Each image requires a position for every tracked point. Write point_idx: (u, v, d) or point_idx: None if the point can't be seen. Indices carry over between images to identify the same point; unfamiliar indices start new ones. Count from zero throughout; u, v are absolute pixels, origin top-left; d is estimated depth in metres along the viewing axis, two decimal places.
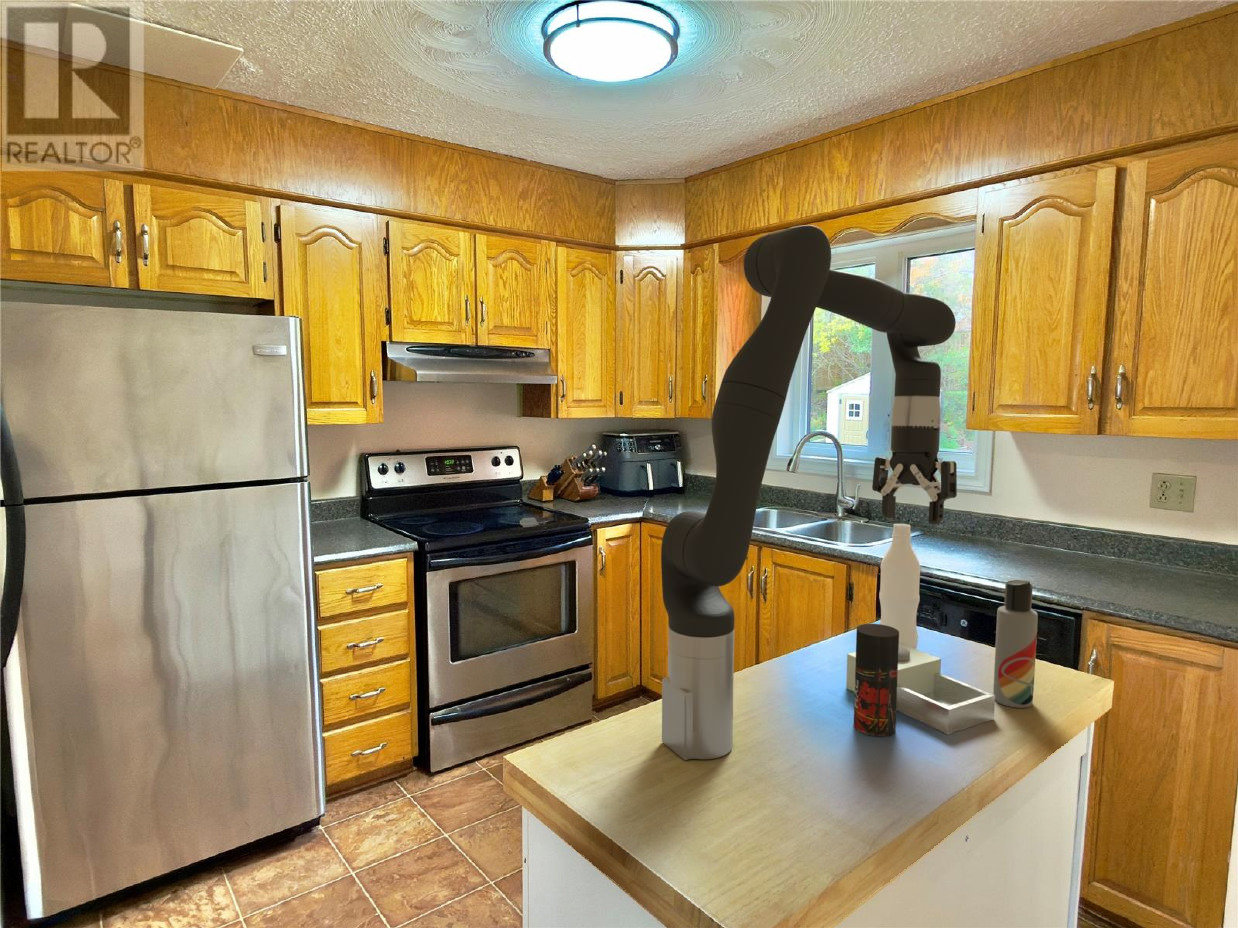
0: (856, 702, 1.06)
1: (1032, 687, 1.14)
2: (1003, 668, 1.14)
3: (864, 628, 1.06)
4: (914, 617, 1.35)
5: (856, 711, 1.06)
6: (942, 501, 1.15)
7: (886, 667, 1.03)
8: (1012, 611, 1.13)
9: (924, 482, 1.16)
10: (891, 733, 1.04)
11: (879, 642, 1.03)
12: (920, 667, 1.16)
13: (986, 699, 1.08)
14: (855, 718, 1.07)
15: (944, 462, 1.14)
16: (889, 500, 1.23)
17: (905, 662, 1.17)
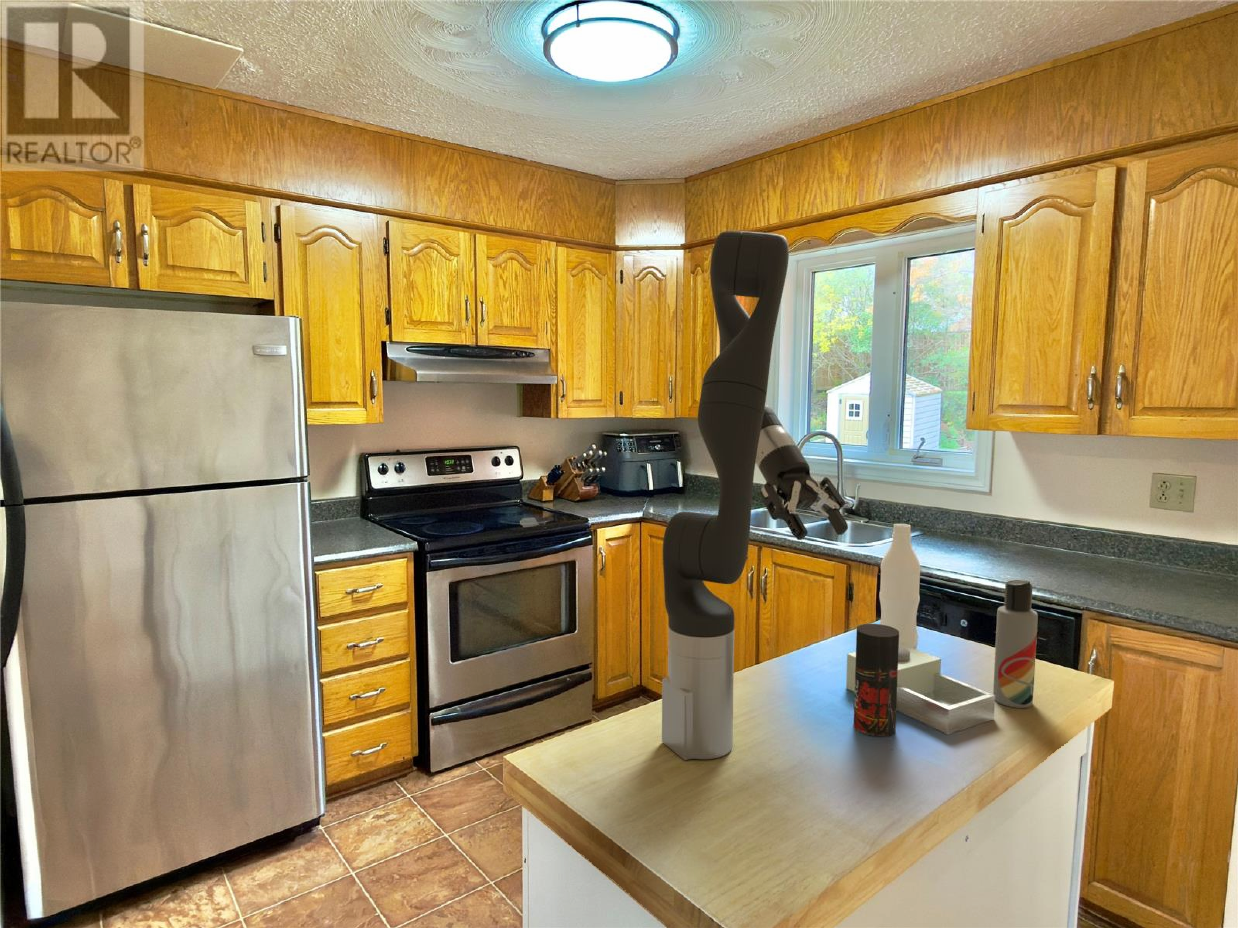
0: (856, 702, 1.06)
1: (1032, 687, 1.14)
2: (1003, 668, 1.14)
3: (864, 628, 1.06)
4: (914, 617, 1.35)
5: (856, 711, 1.06)
6: None
7: (886, 667, 1.03)
8: (1012, 611, 1.13)
9: (824, 493, 1.18)
10: (891, 733, 1.04)
11: (879, 642, 1.03)
12: (920, 667, 1.16)
13: (986, 699, 1.08)
14: (855, 718, 1.07)
15: (826, 478, 1.22)
16: None
17: (905, 662, 1.17)
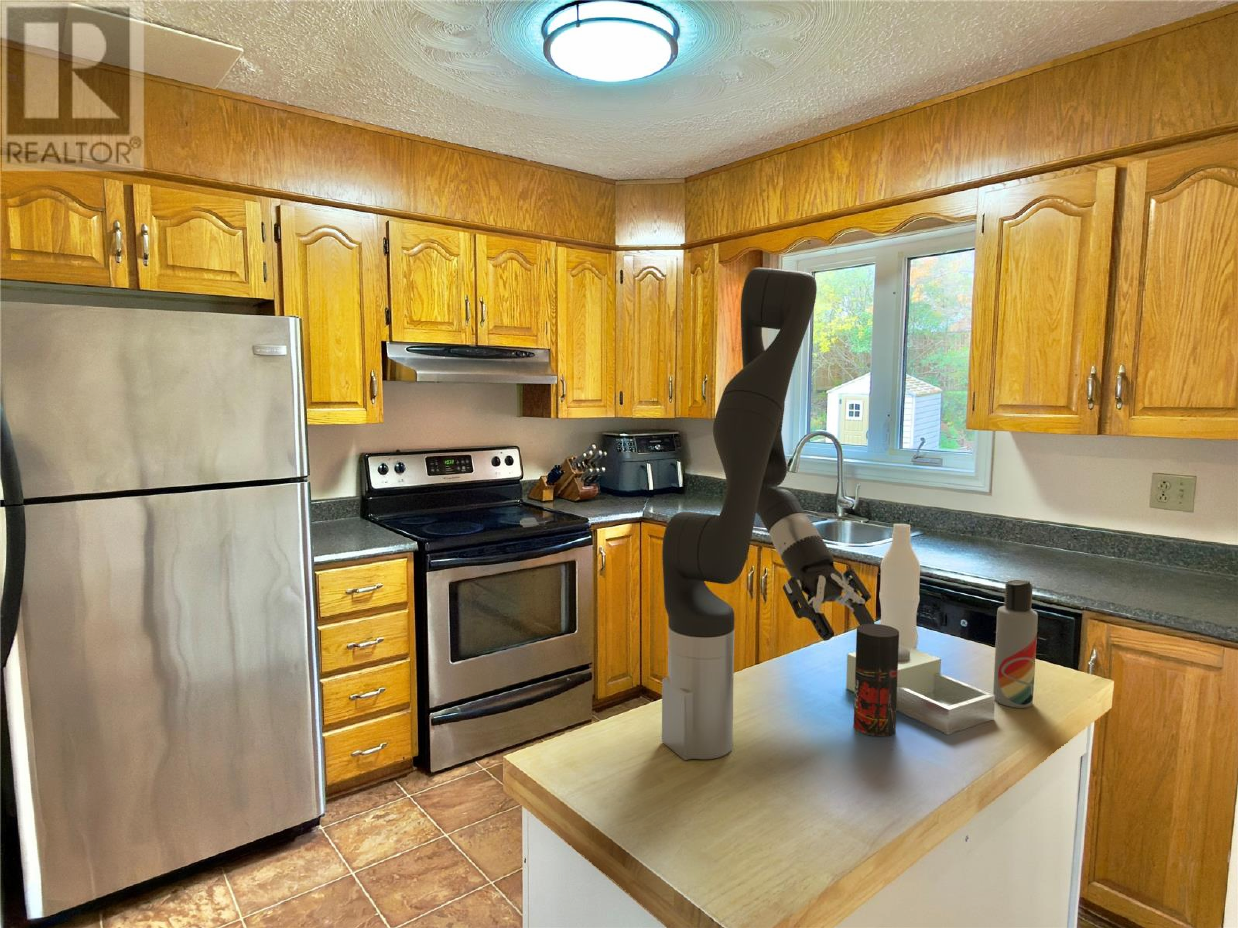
0: (856, 702, 1.06)
1: (1032, 687, 1.14)
2: (1003, 668, 1.14)
3: (864, 628, 1.06)
4: (914, 617, 1.35)
5: (856, 711, 1.06)
6: None
7: (886, 667, 1.03)
8: (1012, 611, 1.13)
9: (849, 587, 1.14)
10: (891, 733, 1.04)
11: (879, 642, 1.03)
12: (920, 667, 1.16)
13: (986, 699, 1.08)
14: (855, 718, 1.07)
15: (850, 568, 1.18)
16: None
17: (905, 662, 1.17)
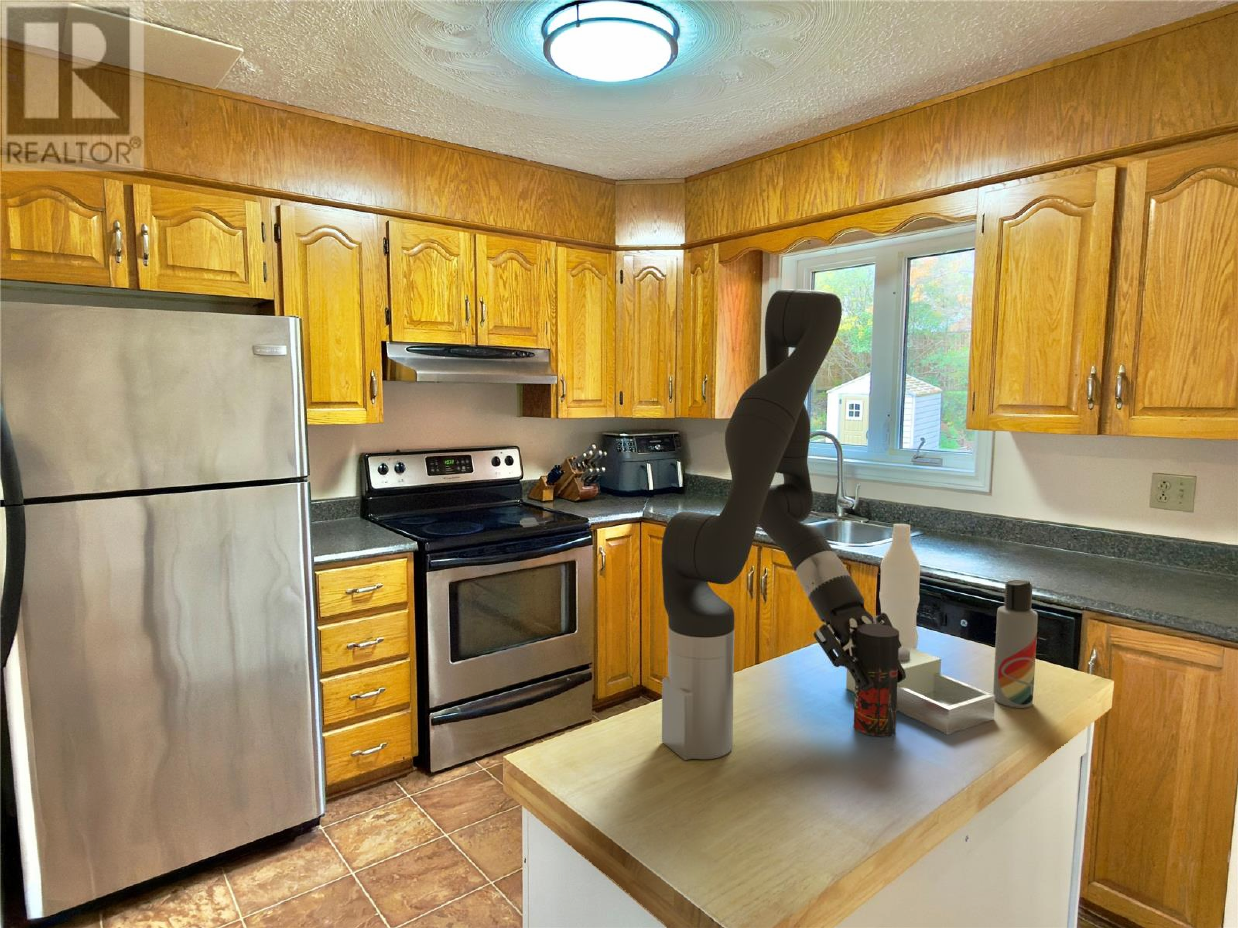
0: (856, 702, 1.06)
1: (1032, 687, 1.14)
2: (1003, 668, 1.14)
3: (864, 628, 1.06)
4: (914, 617, 1.35)
5: (856, 711, 1.06)
6: None
7: (886, 667, 1.03)
8: (1012, 611, 1.13)
9: None
10: (891, 733, 1.04)
11: (879, 642, 1.03)
12: (920, 667, 1.16)
13: (986, 699, 1.08)
14: (855, 718, 1.07)
15: (884, 613, 1.12)
16: None
17: (905, 662, 1.17)
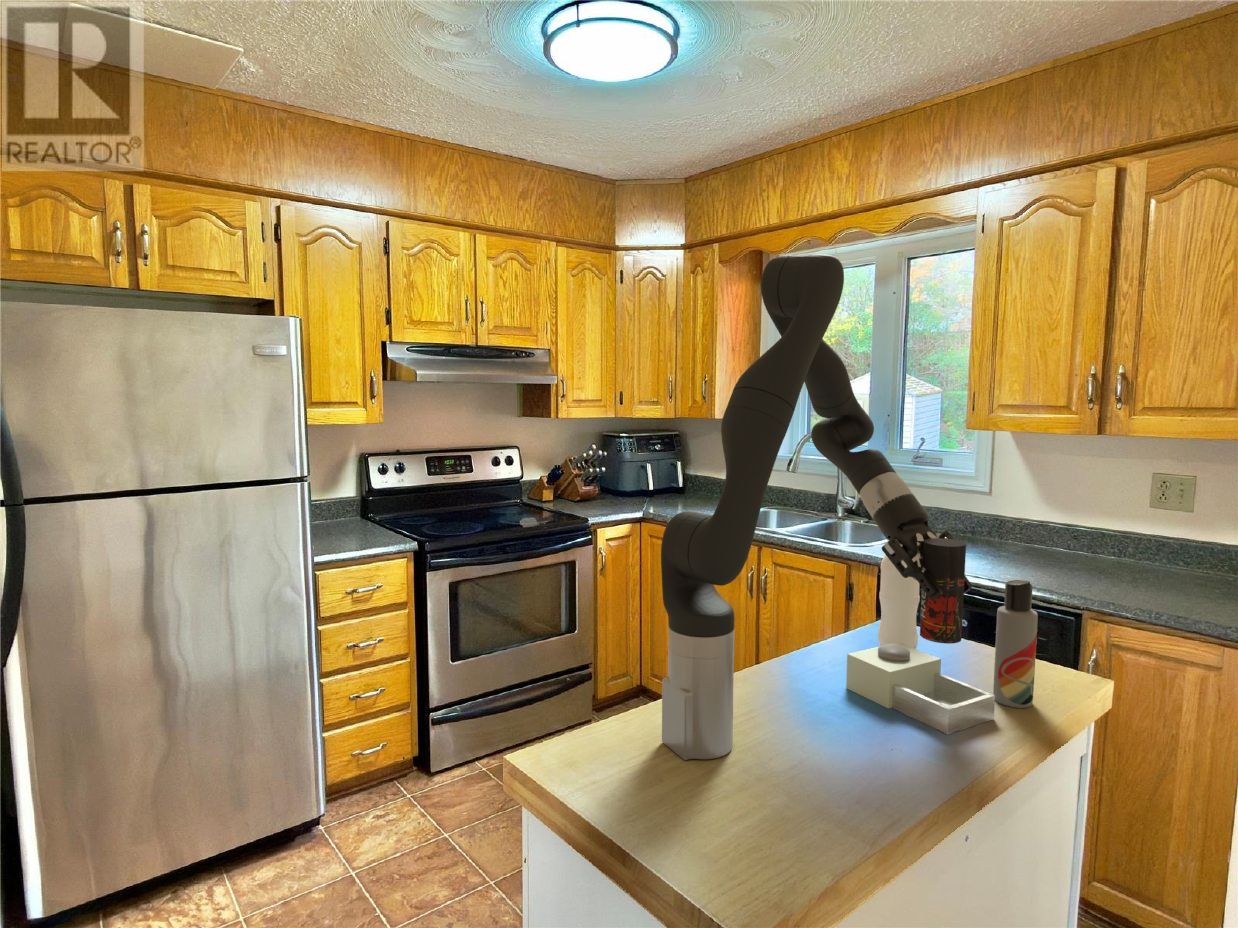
0: (923, 612, 1.10)
1: (1032, 687, 1.14)
2: (1003, 668, 1.14)
3: (931, 541, 1.10)
4: (914, 617, 1.35)
5: (923, 621, 1.10)
6: None
7: (954, 576, 1.07)
8: (1012, 611, 1.13)
9: None
10: (958, 640, 1.09)
11: (948, 551, 1.07)
12: (920, 667, 1.16)
13: (986, 699, 1.08)
14: (922, 628, 1.11)
15: (946, 531, 1.17)
16: None
17: (905, 662, 1.17)
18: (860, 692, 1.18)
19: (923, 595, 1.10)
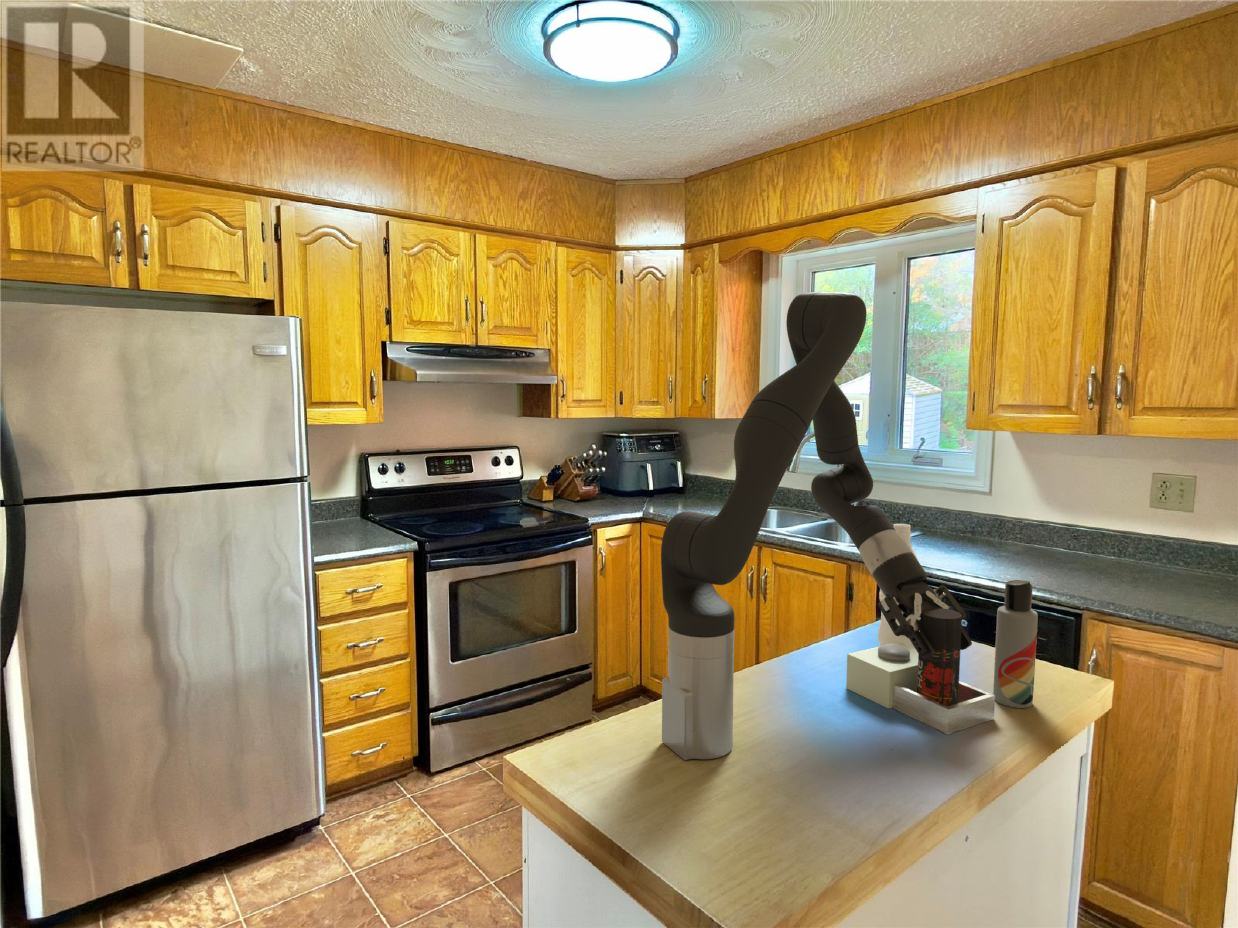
0: (920, 682, 1.11)
1: (1032, 687, 1.14)
2: (1003, 668, 1.14)
3: (928, 611, 1.12)
4: None
5: (920, 690, 1.11)
6: None
7: (950, 648, 1.08)
8: (1012, 611, 1.13)
9: (944, 605, 1.14)
10: None
11: (944, 623, 1.08)
12: None
13: (986, 699, 1.08)
14: None
15: (943, 586, 1.18)
16: None
17: (905, 662, 1.17)
18: (860, 692, 1.18)
19: (920, 665, 1.11)
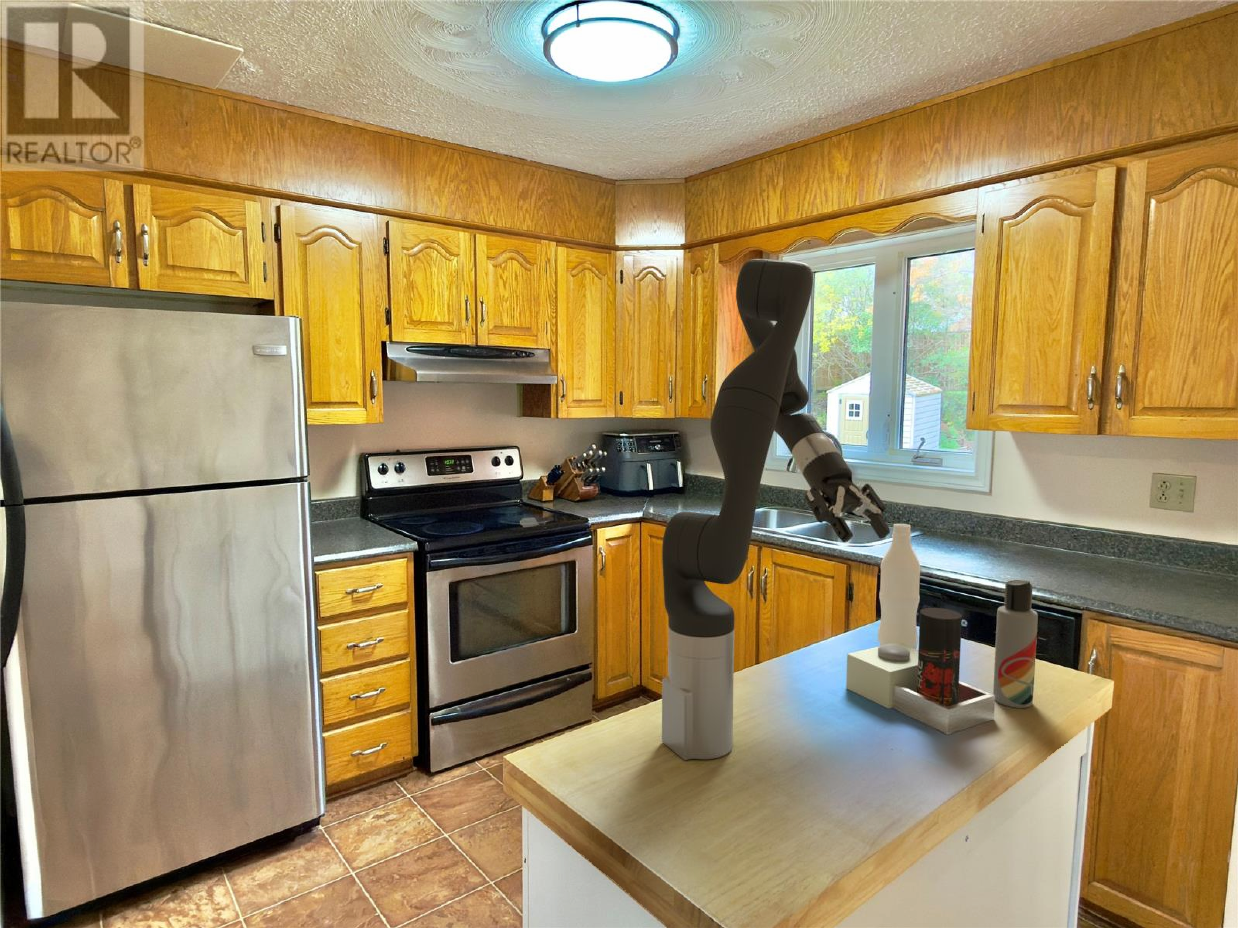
0: (920, 682, 1.11)
1: (1032, 687, 1.14)
2: (1003, 668, 1.14)
3: (928, 612, 1.11)
4: (914, 617, 1.35)
5: (920, 691, 1.11)
6: None
7: (950, 648, 1.08)
8: (1012, 611, 1.13)
9: (866, 498, 1.24)
10: None
11: (944, 624, 1.08)
12: None
13: (986, 699, 1.08)
14: None
15: (867, 484, 1.27)
16: None
17: (905, 662, 1.17)
18: (860, 692, 1.18)
19: (920, 665, 1.11)
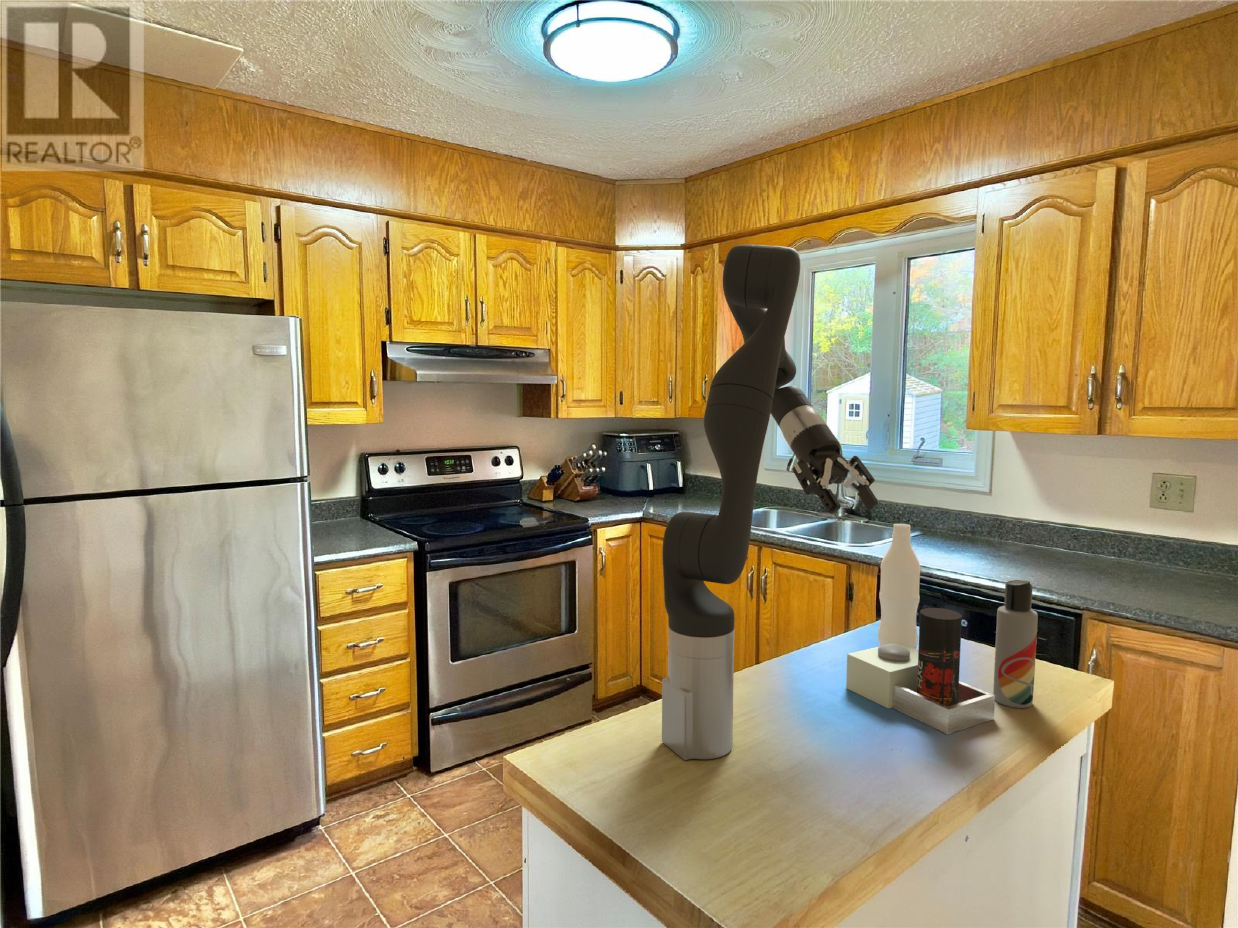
0: (920, 682, 1.11)
1: (1032, 687, 1.14)
2: (1003, 668, 1.14)
3: (927, 612, 1.11)
4: (914, 617, 1.35)
5: (920, 691, 1.11)
6: None
7: (950, 648, 1.08)
8: (1012, 611, 1.13)
9: (854, 470, 1.23)
10: None
11: (944, 624, 1.08)
12: None
13: (986, 699, 1.08)
14: None
15: (855, 456, 1.26)
16: None
17: (905, 662, 1.17)
18: (860, 692, 1.18)
19: (920, 665, 1.11)
